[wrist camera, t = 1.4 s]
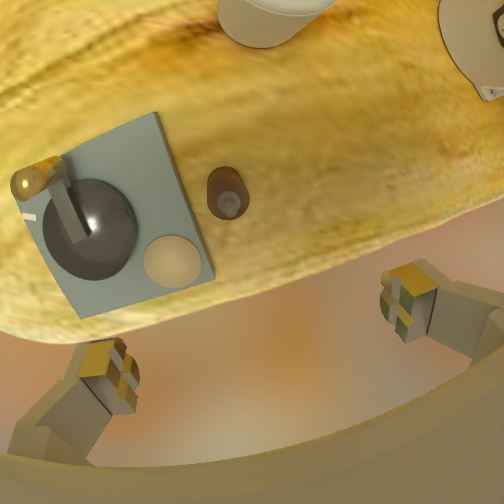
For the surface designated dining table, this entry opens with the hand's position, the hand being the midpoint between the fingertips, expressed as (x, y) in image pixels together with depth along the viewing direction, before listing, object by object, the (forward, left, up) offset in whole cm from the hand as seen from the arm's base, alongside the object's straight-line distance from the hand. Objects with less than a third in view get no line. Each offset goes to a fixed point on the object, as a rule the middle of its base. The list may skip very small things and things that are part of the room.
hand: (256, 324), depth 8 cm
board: (+13, +1, -23) cm, 26 cm away
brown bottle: (0, +1, -23) cm, 23 cm away
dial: (+14, -1, -20) cm, 25 cm away
